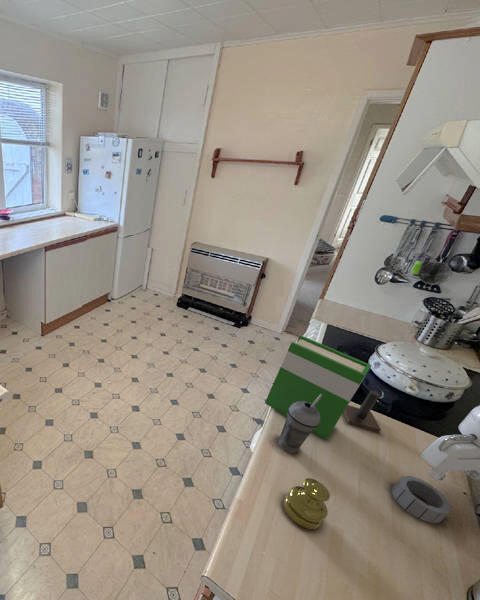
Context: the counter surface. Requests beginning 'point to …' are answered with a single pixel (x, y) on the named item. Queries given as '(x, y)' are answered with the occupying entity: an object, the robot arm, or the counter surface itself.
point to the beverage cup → (299, 424)
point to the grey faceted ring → (416, 507)
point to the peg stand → (363, 414)
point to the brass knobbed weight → (307, 503)
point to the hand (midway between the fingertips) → (452, 476)
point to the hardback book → (317, 381)
